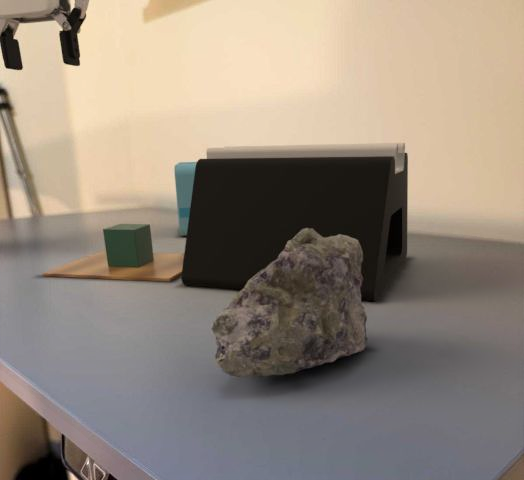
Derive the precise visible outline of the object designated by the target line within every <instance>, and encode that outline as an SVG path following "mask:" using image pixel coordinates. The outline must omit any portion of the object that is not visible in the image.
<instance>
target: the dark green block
mask: <svg viewBox="0 0 524 480" xmlns="http://www.w3.org/2000/svg"><path fill="white" fill-rule="evenodd" d="M151 229H152V228H151V224H150V223H119V224H115V225H112V226H109V227H106V228H103V229H102V232H103V233H102V234H103V240H104V247H105V252H106V255H107V262H108V266H109V267H136V268H139V267H141V266H143V265H145V264H147V263H149V262H151V261H153V260H154V257H153V253H154V249H153V248H154V247H153V239H152V230H151Z"/></svg>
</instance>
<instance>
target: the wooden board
mask: <svg viewBox="0 0 524 480" xmlns="http://www.w3.org/2000/svg"><path fill="white" fill-rule="evenodd" d="M153 257H154V260H153V261H151V262H149V263H147V264H145V265H143V266H141V267H139V268H136V267H109V266H108V262H107V255H106V251H98V252H96V253H93V254H90V255H88V256H84V257H82V258H80V259H77V260H74V261H72V262H69V263H65V264H63V265H61V266H58V267H56V268H53V269H50V270H47V271H45V272H43V273H42V275H43V277H54V278H55V277H56V278H77V279H78V278H79V279H102V280H123V281H124V280H125V281H147V282H171V281H173V280H175V279H177V278H179V277H180V276H182V268H183V260H184V253H165V252H164V253H163V252H153Z"/></svg>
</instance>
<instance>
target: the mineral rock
mask: <svg viewBox="0 0 524 480" xmlns="http://www.w3.org/2000/svg"><path fill="white" fill-rule="evenodd" d="M362 261H363V252H362V248H361V245H360V243H359V241H358V240H356V239H354V238H351V237H349V236H346V235H341V234H339V235H337V236H330V237H326V238H324V237H322V236H321V235H319V234H318V233H317V232H316V231H315V230H314V229H313V228H312V229H309V228H305V229H302V230H301V231H300V232H299V233H298V234H297V235H296V236H295V237H294V238H293V239H292V240H289V241H288V242H287V244H286V246H285V249H284V250H283V251H282V252H281V253H280V254H279V256H278V258H277V259H276V260H275V261H273V262H271V263H270V264H269V265H268V266H267V267H266V268H265V269H263V270H261V271H260V272H258V273H257V274H256V275H255V276H253V277H252V278H251V279H250V280H249V281H248V282H247V284H246V285H245V287H244V288H243V289H242V290H240V291H238V293H237V294H236V295H235V296H234V297H233V299H232V300H231V302H230V303H229V305H228V306H227V307H226V308H224V309H222V312H220V313H219V314H218V315H217V316H216V317H215V318H214V320H212V322H211V328H210V329H211V332H212V334H213V335H214V336H215V343H216V346H217V347H216V352H215V354H214V359H215V362H216V363H217V365H218V366H219V368H220V369H221V370H222V372H223V373H225V374H227V375H228V376H231V377H235V378H243V377H258V376H259V377H265V378H266V377H270V376H284V375H287V374H288V375H290V374H295V373H297V372H299V371H302V370H306V369H311V368H314V367H316V366H322V365H324V364H326V363H333V362H335V361H336V360H338V359H341V358H344V357H350V356H351V355H353V354H357V353H361V352H362V351H364V350H365V348H366V347H367V345H368V338H367V328H366V327H367V320H368V316H367V313H366V310H365V307H364V306H363V304H362V300H361V292H360V287H361V286H362V281H363V277H362V275H361V264H362Z"/></svg>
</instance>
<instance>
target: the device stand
mask: <svg viewBox="0 0 524 480" xmlns="http://www.w3.org/2000/svg"><path fill="white" fill-rule="evenodd" d="M196 162H197V163H196V167H195V175H194V183H193V191H192V198H191V206H190V214H189V221H188V229H187V236H185V244H184V245H185V246H184V252H183V254H184V260H183V268H182V274H181V275H180V276H181V278H180V279H181V283H182V285H184V286H194V287H204V288H205V287H206V288H207V287H208V288H217V289H230V290H231V289H232V290H240V291H241V290H242V289H243V288H244V287H245V285H246V284H247V282H248V281H249V280H250V279H251V278H252V277H253V276H255V275H256V274H257V273H258V272H260V271H261V270H263V269H265V268H266V267H267V266H268V265H269V264H270V263H271V262H273V261H275V260H276V259H277V258H278V256H279V254H280V253H281V252H282V251H283V250H284V249H285V246H286V244H287V242H288V241H289V240H292V239H293V238H294V237H295V236H296V235H297V234H298V233H299V232H300V231H301V230H302V229H305V228H309V229H312V228H313V229H314V230H315V231H316V232H317V233H318V234H319V235H321V236H322V237H324V238H326V237H330V236H337V235H339V234H341V235H346V236H349V237H351V238H354V239H356V240H358V241H359V243H360V245H361V248H362V252H363V261H362V264H361V275H362V277H363V281H362V286H361V287H360V292H361V301H373V302H376V301H377V299H378V298H379V296H380V295H381V294H382V293H383V291H384V290H385V288H386V287H387V285H388V284H389V283H390V281H391V280H392V279H393V277H394V276H395V274H396V273H397V271H398V270H399V269H400V267H401V266H402V265H403V263H404V262H405V260H406V259H407V255H408V209H409V207H408V206H409V205H408V204H409V203H408V200H409V199H408V197H409V195H408V194H409V193H408V191H409V189H408V188H409V187H408V185H409V183H408V181H409V155H408V152H406V142H379V143H378V142H376V143H375V142H374V143H369V142H368V143H337V144H336V143H332V144H331V143H329V144H327V143H326V144H285V145H283V144H281V145H241V146H240V145H239V146H235V145H234V146H224V147H207V148H206V158H199V159H198V160H197V161H196Z"/></svg>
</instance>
